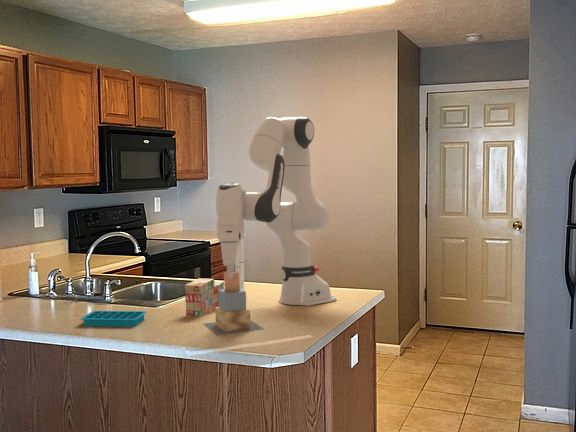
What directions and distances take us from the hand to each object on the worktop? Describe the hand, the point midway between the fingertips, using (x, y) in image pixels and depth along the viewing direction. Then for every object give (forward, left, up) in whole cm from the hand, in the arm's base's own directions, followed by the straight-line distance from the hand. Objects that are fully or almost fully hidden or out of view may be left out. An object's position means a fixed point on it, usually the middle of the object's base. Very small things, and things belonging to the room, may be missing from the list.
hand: (231, 274), depth 209 cm
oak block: (0, 0, -17) cm, 17 cm away
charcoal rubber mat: (0, 0, -18) cm, 18 cm away
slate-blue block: (0, 0, -11) cm, 11 cm away
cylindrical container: (-21, -57, -19) cm, 63 cm away
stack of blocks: (+1, -28, -19) cm, 34 cm away
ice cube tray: (+34, -28, -19) cm, 48 cm away
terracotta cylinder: (0, 0, -5) cm, 5 cm away
